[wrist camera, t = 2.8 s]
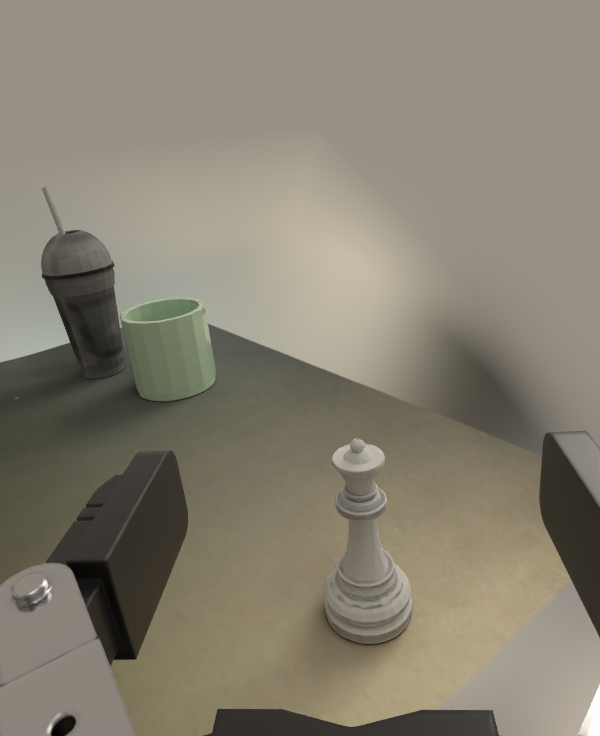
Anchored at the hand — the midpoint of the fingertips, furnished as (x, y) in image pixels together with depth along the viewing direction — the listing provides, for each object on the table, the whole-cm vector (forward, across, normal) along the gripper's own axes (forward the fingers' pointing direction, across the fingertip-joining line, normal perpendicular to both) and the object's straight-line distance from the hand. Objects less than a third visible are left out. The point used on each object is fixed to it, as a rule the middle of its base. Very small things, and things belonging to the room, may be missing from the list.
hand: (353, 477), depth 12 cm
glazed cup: (+41, +19, +15) cm, 48 cm away
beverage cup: (+46, +29, +15) cm, 56 cm away
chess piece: (+11, 0, +16) cm, 19 cm away
